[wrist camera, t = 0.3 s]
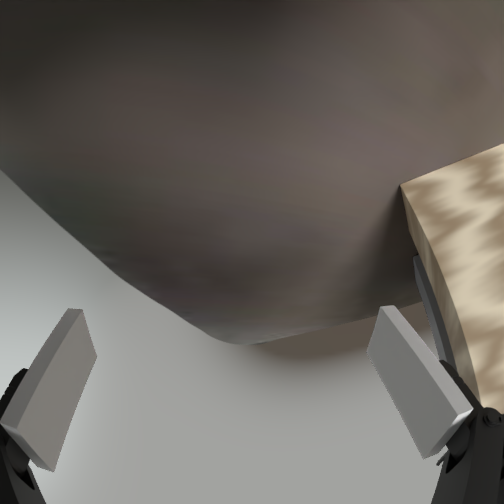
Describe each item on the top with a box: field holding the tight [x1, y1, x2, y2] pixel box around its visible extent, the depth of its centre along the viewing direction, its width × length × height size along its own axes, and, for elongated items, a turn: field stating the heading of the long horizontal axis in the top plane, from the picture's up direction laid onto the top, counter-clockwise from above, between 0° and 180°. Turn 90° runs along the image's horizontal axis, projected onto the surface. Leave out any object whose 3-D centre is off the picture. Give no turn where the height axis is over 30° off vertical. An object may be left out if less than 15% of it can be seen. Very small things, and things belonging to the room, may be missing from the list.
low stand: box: [413, 255, 458, 373], centre depth 28 cm, size 16×8×22 cm, turn 120°
